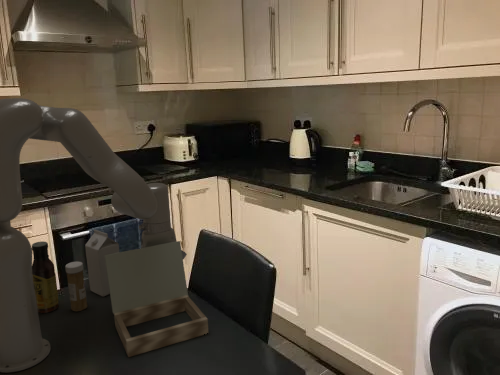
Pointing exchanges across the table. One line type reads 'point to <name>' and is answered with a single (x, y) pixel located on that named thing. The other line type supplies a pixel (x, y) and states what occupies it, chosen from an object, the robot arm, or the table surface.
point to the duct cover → (145, 276)
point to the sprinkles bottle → (76, 286)
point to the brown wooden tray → (164, 335)
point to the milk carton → (99, 261)
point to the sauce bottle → (44, 278)
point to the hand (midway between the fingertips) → (161, 282)
